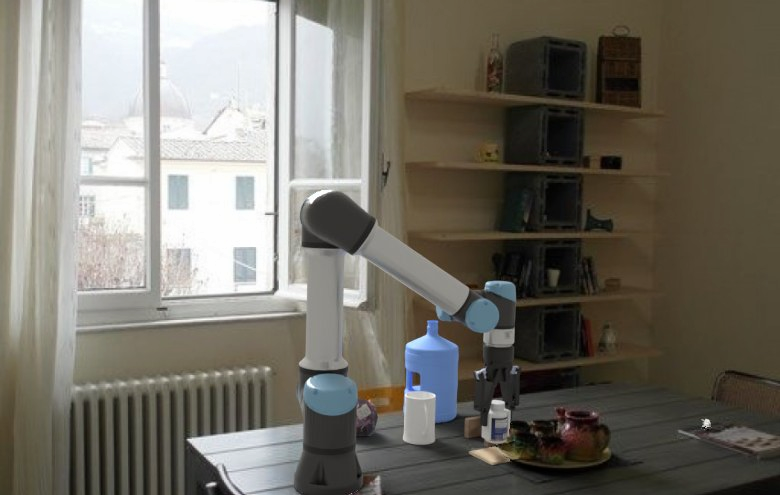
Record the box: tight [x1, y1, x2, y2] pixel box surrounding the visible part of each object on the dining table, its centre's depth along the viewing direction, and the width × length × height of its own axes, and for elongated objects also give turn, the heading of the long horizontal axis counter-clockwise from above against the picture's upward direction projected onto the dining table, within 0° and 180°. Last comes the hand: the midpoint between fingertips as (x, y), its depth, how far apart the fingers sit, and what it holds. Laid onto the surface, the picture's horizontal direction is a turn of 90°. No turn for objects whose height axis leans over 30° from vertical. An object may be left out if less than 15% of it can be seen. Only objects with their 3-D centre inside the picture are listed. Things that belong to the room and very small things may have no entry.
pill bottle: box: [485, 399, 507, 444], centre depth 189 cm, size 5×5×10 cm
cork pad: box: [468, 446, 511, 466], centre depth 190 cm, size 9×9×1 cm
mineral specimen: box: [356, 398, 379, 437], centre depth 204 cm, size 10×10×10 cm
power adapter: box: [701, 418, 711, 428], centre depth 218 cm, size 3×3×3 cm
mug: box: [402, 391, 436, 446], centre depth 199 cm, size 12×8×12 cm
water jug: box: [402, 319, 460, 424], centre depth 222 cm, size 16×16×28 cm
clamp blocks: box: [463, 415, 496, 448], centre depth 203 cm, size 9×10×5 cm
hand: (495, 436), depth 189 cm, fingers closed on pill bottle, 5 cm apart
